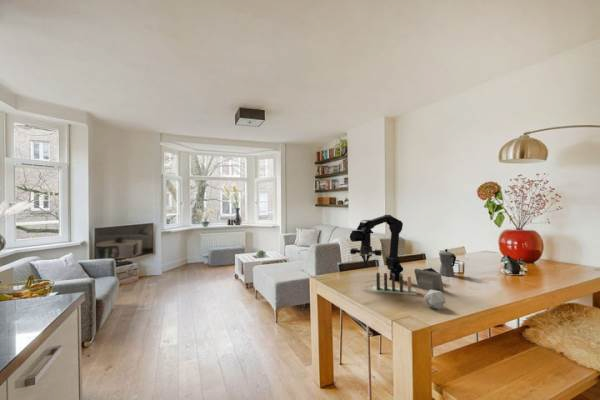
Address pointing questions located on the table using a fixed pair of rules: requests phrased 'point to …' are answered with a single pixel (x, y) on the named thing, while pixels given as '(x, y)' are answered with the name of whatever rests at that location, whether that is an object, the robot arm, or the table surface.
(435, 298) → the grey rock
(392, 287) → the domino
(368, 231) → the robot arm
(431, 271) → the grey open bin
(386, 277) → the domino
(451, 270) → the coffeepot
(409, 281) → the domino
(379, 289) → the domino
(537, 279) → the table surface
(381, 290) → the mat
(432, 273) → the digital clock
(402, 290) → the domino
